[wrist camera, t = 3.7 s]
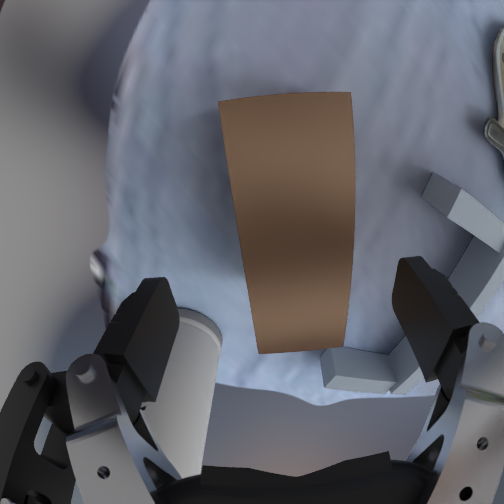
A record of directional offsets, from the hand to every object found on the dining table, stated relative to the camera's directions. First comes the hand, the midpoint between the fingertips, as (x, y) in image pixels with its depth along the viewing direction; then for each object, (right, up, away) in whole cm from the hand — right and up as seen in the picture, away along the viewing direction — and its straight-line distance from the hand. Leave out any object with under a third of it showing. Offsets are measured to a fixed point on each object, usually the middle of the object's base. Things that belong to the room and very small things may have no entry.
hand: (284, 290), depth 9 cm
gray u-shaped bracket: (+12, -2, +11) cm, 17 cm away
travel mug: (-7, -6, +14) cm, 17 cm away
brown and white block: (+1, +5, +8) cm, 9 cm away
